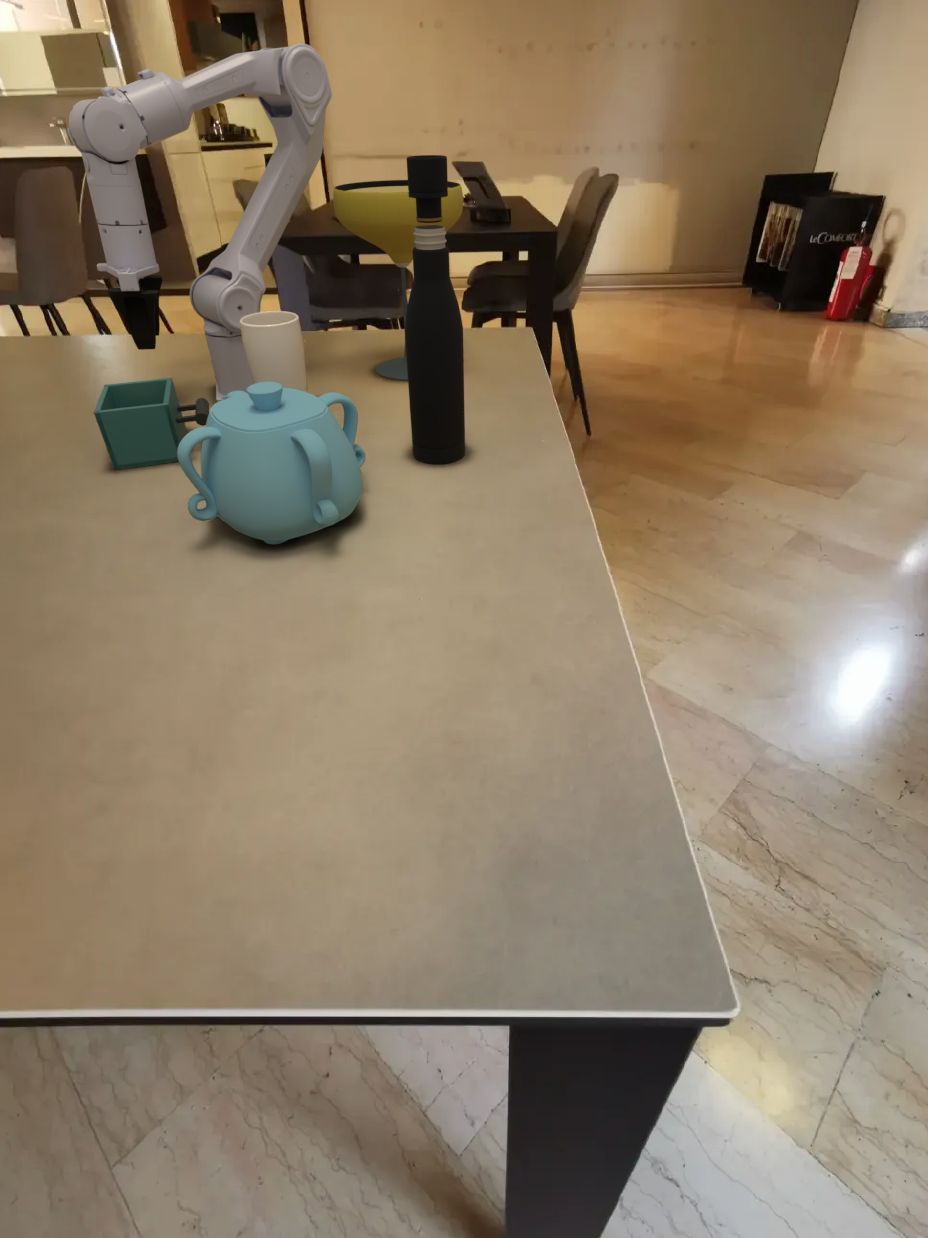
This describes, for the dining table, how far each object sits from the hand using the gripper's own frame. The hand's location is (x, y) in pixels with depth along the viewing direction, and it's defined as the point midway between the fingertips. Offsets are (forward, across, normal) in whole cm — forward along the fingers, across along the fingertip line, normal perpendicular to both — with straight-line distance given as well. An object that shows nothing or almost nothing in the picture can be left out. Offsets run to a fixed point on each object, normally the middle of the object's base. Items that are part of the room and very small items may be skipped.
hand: (149, 341), depth 89 cm
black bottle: (+8, +26, +33) cm, 43 cm away
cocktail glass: (+7, -7, +37) cm, 38 cm away
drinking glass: (+9, +17, +16) cm, 25 cm away
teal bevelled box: (+10, +13, +1) cm, 16 cm away
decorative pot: (+10, +36, +14) cm, 40 cm away
